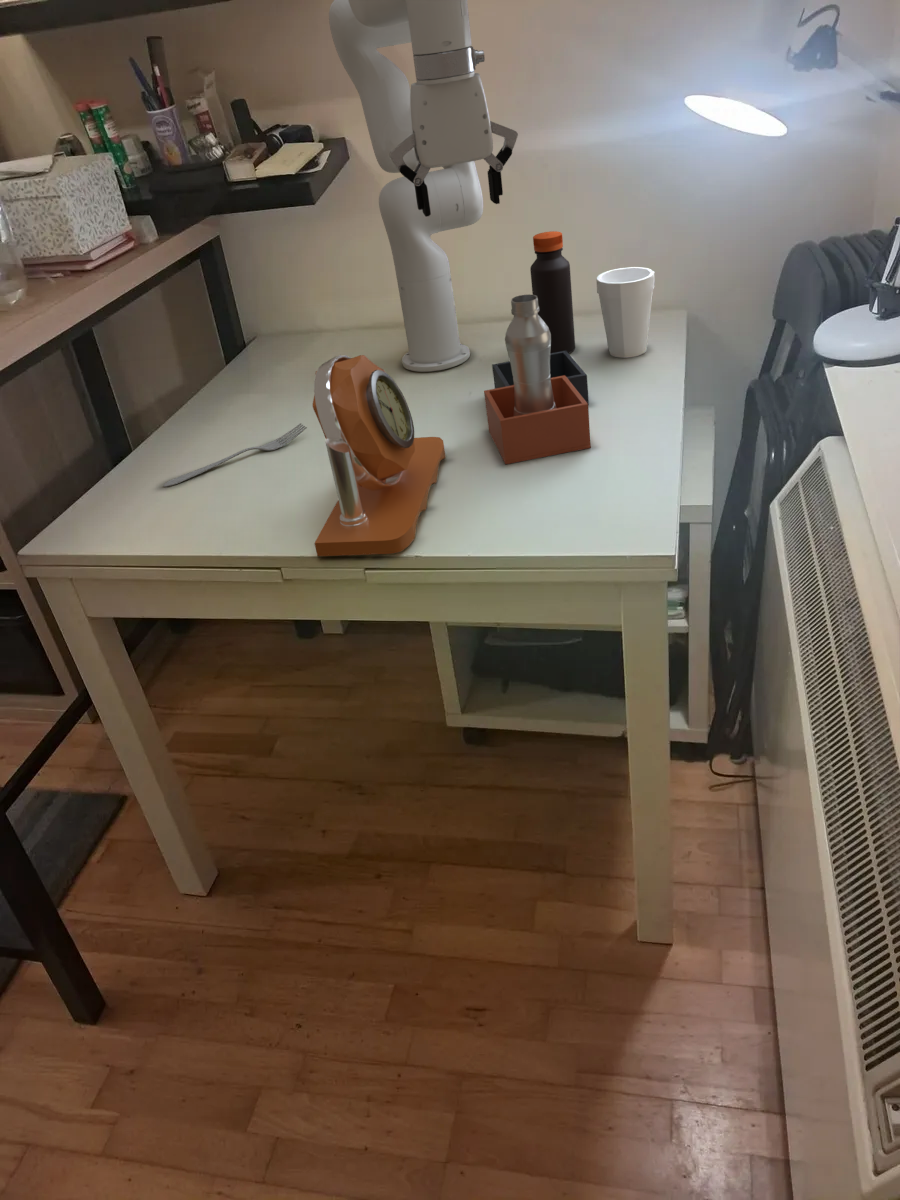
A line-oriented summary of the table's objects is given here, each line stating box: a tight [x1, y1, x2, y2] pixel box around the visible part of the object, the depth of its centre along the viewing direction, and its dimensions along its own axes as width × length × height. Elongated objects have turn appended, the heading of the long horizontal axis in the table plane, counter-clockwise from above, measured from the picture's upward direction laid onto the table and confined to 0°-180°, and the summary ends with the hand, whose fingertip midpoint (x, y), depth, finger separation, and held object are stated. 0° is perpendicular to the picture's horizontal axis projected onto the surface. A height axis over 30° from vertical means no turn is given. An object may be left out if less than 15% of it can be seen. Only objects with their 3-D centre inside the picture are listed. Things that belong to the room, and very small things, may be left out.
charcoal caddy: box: [491, 351, 590, 407], centre depth 149 cm, size 12×12×5 cm
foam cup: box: [595, 266, 656, 359], centre depth 159 cm, size 10×9×13 cm
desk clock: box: [312, 354, 447, 557], centre depth 122 cm, size 12×30×20 cm, turn 171°
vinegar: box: [530, 230, 576, 355], centre depth 163 cm, size 7×7×20 cm
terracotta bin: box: [483, 375, 592, 465], centre depth 136 cm, size 12×12×7 cm
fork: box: [162, 423, 308, 488], centre depth 146 cm, size 3×24×2 cm, turn 123°
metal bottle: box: [504, 293, 556, 416], centre depth 132 cm, size 6×7×20 cm
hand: (461, 208), depth 129 cm, fingers open, 9 cm apart
